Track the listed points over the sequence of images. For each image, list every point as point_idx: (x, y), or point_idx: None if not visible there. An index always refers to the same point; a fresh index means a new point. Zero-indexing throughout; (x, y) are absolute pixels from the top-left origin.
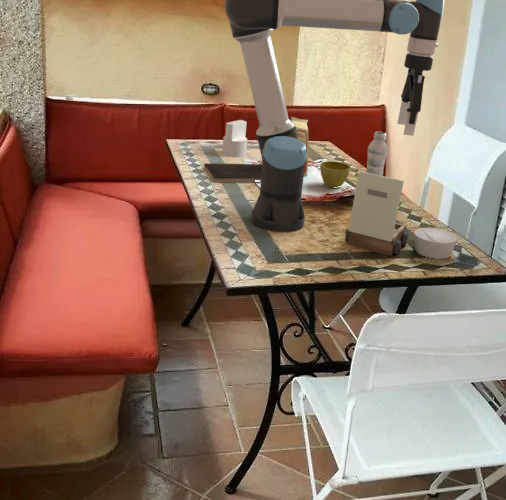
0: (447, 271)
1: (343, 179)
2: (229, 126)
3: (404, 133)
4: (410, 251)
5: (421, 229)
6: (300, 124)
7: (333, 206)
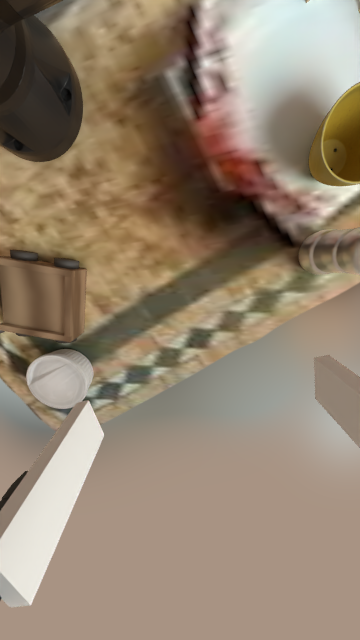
0: (23, 386)
1: (321, 180)
2: None
3: (75, 408)
4: (56, 343)
5: (67, 363)
6: None
7: (186, 194)
